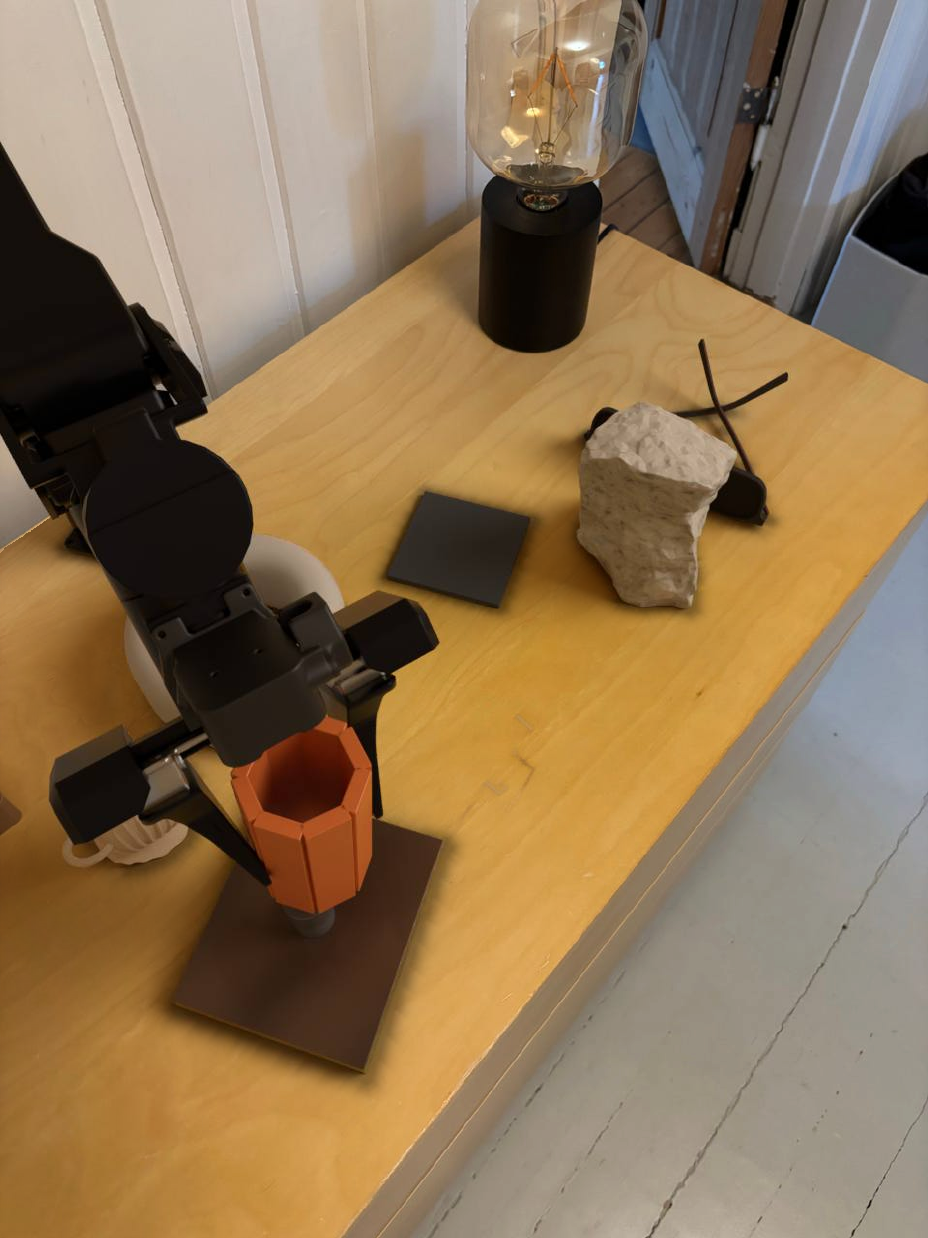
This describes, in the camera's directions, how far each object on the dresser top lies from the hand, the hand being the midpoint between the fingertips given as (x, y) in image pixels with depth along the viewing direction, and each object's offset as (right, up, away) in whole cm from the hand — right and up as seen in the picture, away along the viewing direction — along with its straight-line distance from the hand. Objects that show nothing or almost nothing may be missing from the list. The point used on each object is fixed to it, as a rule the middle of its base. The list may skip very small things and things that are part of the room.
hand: (323, 849), depth 47 cm
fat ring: (-9, +8, +21) cm, 24 cm away
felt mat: (+7, +17, +27) cm, 33 cm away
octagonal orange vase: (-1, -2, +5) cm, 5 cm away
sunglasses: (+28, +27, +33) cm, 51 cm away
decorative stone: (+21, +16, +27) cm, 38 cm away
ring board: (-2, -7, +11) cm, 13 cm away
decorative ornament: (-14, -2, +14) cm, 20 cm away
